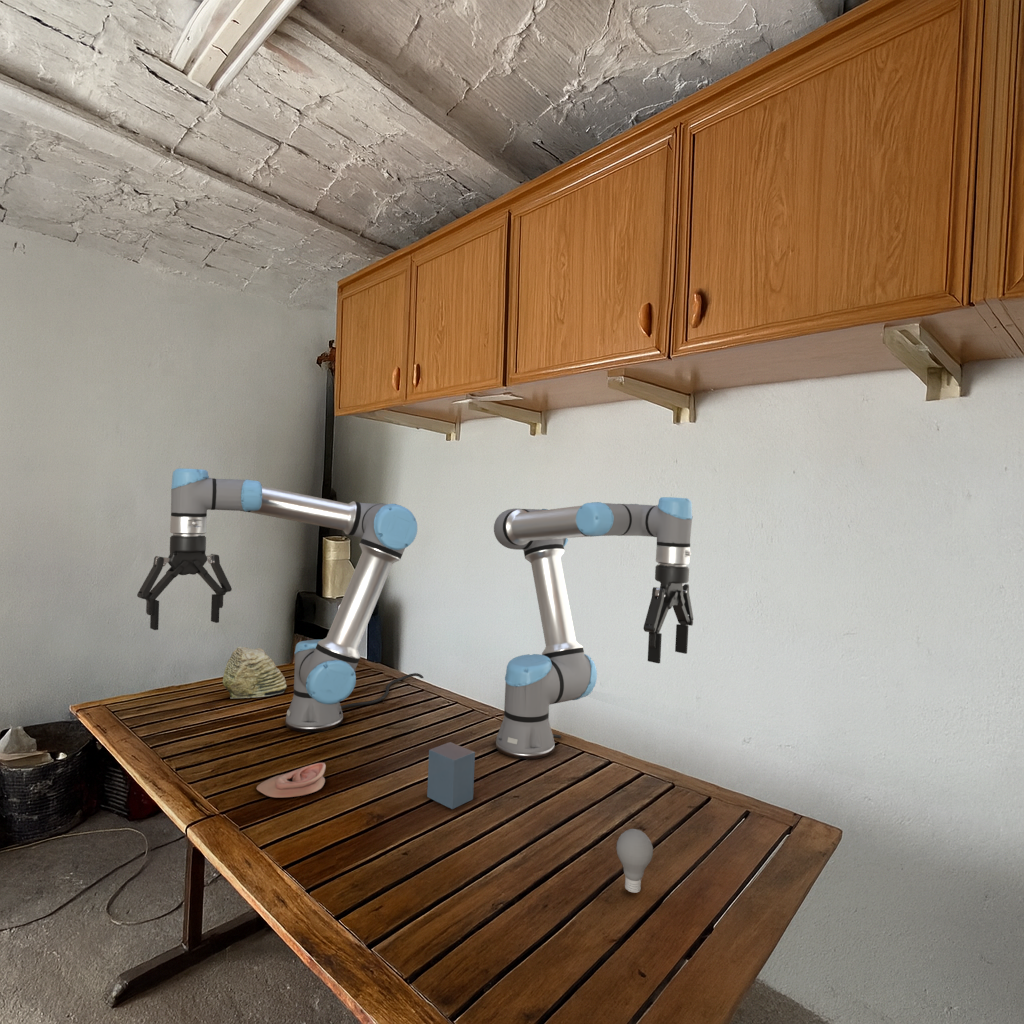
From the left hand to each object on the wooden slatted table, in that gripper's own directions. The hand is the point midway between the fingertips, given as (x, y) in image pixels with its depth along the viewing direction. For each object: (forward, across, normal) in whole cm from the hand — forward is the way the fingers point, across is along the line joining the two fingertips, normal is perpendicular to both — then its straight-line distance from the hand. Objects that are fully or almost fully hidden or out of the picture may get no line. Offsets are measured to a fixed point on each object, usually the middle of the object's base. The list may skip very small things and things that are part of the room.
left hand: (185, 625), depth 148 cm
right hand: (+2, +71, -87) cm, 112 cm away
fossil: (+32, +35, +34) cm, 59 cm away
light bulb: (+32, +32, -102) cm, 112 cm away
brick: (+32, +32, -57) cm, 73 cm away
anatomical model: (+32, +11, -30) cm, 45 cm away
